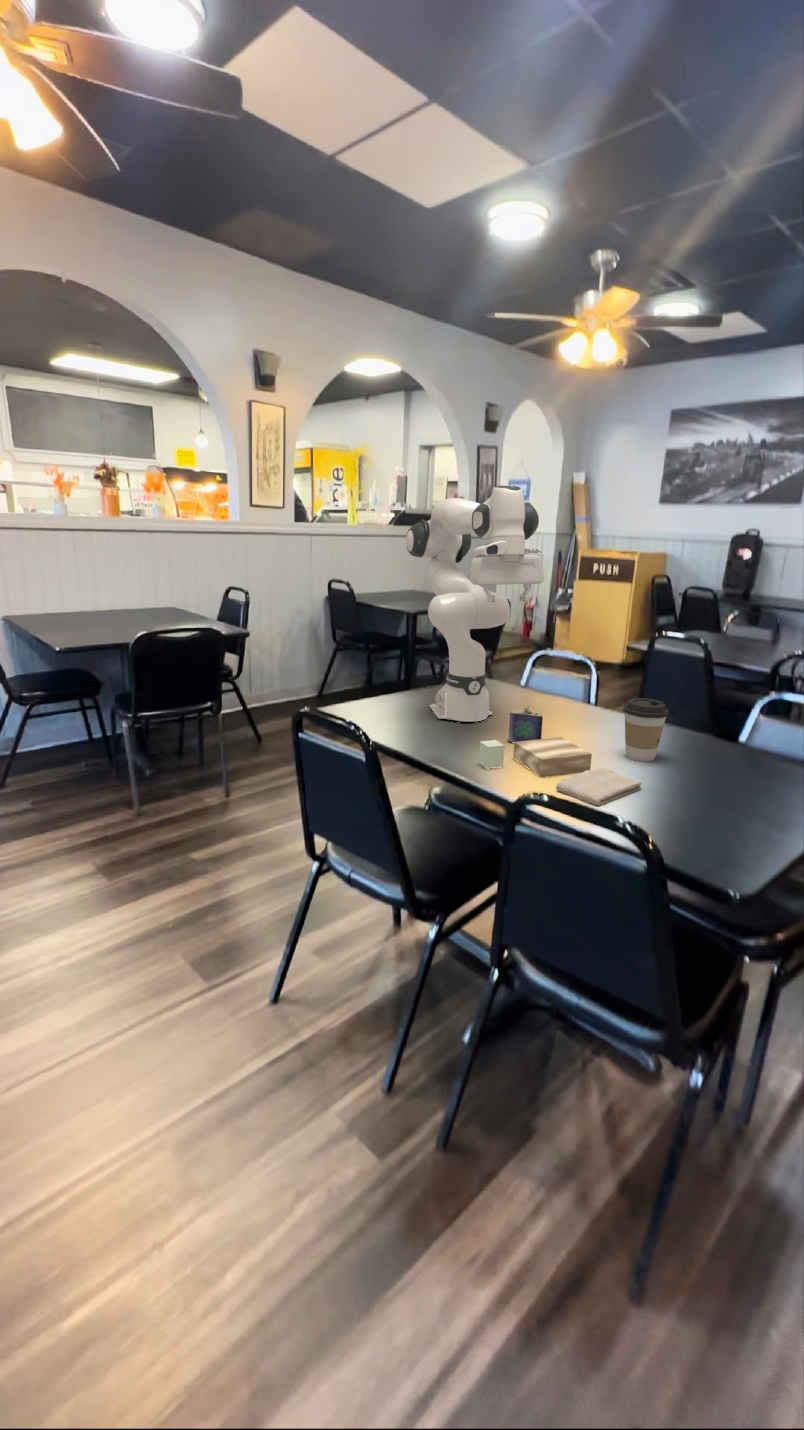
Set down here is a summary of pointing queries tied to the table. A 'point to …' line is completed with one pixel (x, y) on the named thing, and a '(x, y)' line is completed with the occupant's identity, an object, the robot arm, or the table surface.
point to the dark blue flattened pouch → (525, 726)
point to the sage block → (491, 753)
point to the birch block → (552, 756)
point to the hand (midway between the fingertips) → (507, 602)
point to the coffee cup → (643, 727)
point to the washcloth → (598, 786)
